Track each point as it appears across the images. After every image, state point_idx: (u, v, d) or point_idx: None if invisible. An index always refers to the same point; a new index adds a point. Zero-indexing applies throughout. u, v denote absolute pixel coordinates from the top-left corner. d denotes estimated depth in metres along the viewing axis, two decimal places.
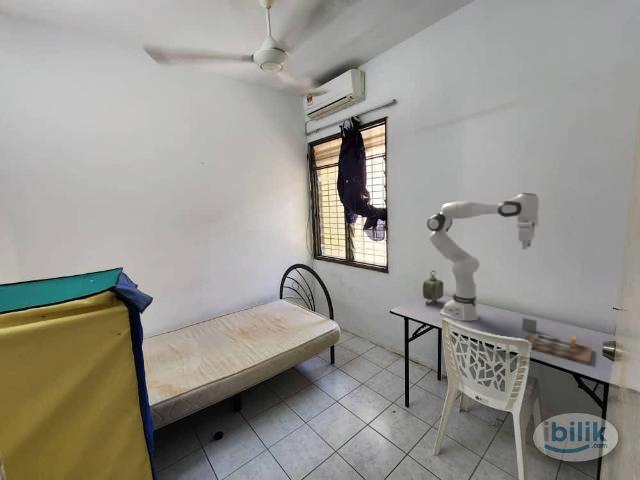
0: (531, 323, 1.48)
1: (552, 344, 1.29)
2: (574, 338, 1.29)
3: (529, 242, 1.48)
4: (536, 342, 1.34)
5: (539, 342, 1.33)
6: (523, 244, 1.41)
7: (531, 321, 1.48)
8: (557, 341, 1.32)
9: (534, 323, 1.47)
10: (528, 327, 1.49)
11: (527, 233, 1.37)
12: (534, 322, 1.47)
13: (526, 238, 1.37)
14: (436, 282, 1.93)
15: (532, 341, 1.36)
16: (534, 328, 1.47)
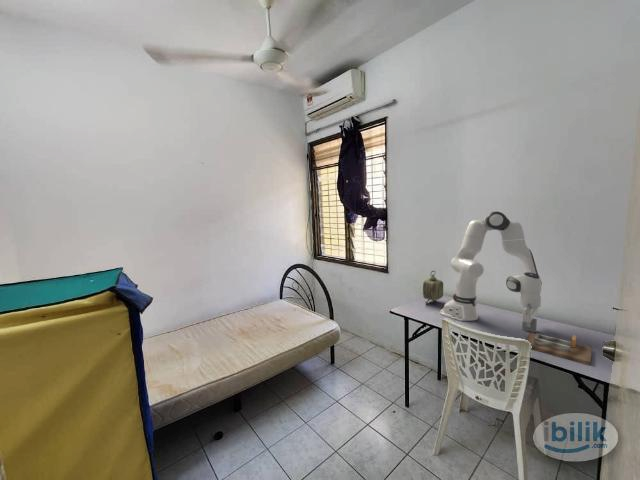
0: (531, 323, 1.48)
1: (552, 344, 1.29)
2: (574, 338, 1.29)
3: None
4: (536, 342, 1.34)
5: (539, 342, 1.33)
6: None
7: (531, 321, 1.48)
8: (557, 341, 1.32)
9: (534, 323, 1.47)
10: (528, 327, 1.49)
11: None
12: (534, 322, 1.47)
13: None
14: (436, 282, 1.93)
15: (532, 341, 1.36)
16: (534, 328, 1.47)
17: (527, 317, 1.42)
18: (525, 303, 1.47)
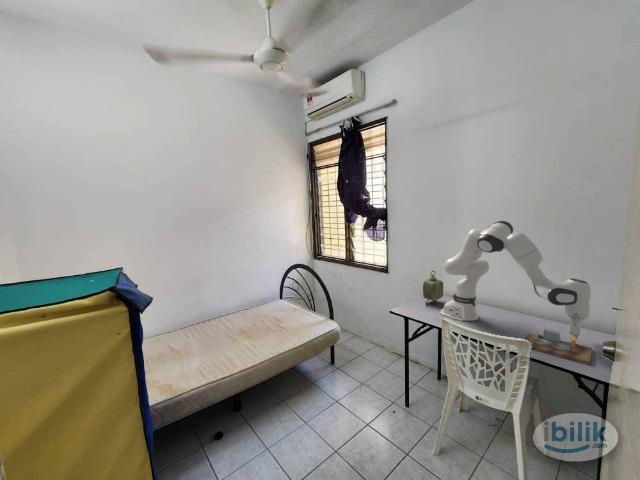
0: (554, 336, 1.30)
1: (552, 344, 1.29)
2: (574, 338, 1.29)
3: None
4: (536, 342, 1.34)
5: (539, 342, 1.33)
6: None
7: (554, 334, 1.30)
8: None
9: (557, 336, 1.29)
10: None
11: None
12: (557, 335, 1.29)
13: None
14: (436, 282, 1.93)
15: (532, 341, 1.36)
16: (557, 342, 1.29)
17: (575, 329, 1.25)
18: (571, 313, 1.29)
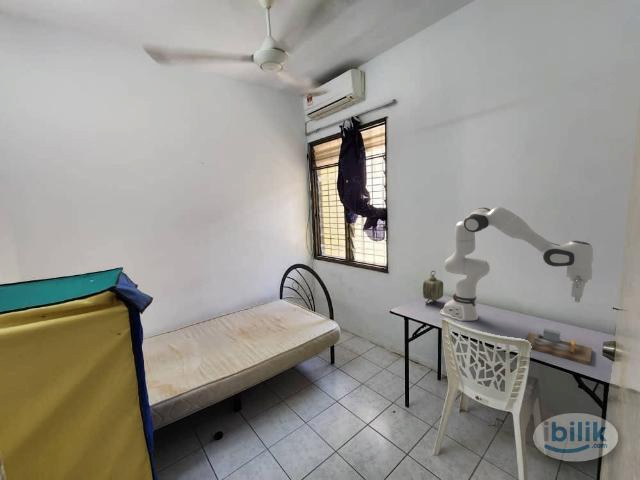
0: (554, 336, 1.30)
1: (552, 344, 1.29)
2: (573, 343, 1.25)
3: None
4: (536, 342, 1.34)
5: (539, 342, 1.33)
6: None
7: (554, 334, 1.30)
8: None
9: (557, 336, 1.29)
10: None
11: None
12: (557, 335, 1.29)
13: None
14: (436, 282, 1.93)
15: (532, 341, 1.36)
16: (557, 342, 1.29)
17: (578, 291, 1.22)
18: (573, 275, 1.27)
